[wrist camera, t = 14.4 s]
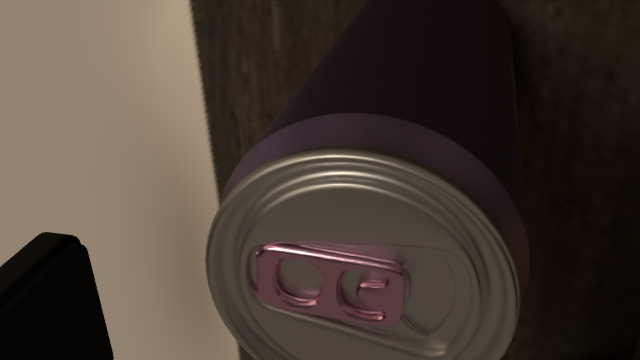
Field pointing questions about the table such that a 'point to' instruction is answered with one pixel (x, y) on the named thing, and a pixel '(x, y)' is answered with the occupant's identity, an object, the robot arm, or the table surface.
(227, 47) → the table surface
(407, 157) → the beverage can
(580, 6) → the table surface
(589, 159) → the table surface
